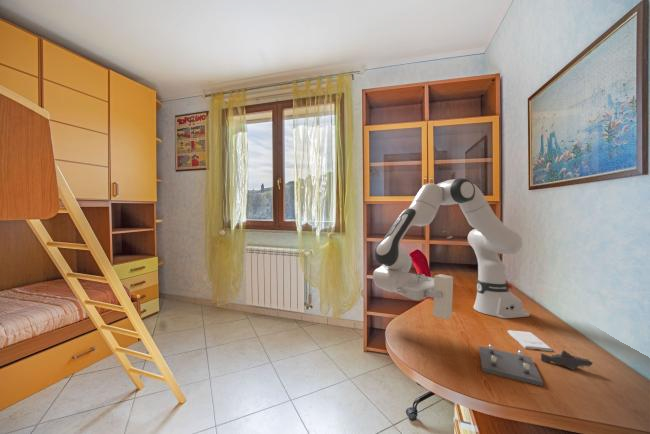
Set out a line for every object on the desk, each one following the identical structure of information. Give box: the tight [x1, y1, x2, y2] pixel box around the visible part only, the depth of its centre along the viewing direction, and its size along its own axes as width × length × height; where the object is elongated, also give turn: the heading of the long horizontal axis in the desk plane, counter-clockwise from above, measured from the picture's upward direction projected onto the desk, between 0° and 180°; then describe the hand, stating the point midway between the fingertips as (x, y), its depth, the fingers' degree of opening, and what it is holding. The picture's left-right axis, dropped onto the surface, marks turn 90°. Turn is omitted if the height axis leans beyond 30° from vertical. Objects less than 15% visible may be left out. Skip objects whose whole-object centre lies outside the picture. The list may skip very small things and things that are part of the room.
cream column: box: [432, 273, 454, 320], centre depth 93 cm, size 4×4×14 cm
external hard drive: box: [507, 329, 553, 352], centre depth 97 cm, size 2×8×12 cm
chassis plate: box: [478, 343, 544, 387], centre depth 81 cm, size 14×14×4 cm
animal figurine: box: [540, 349, 593, 372], centre depth 81 cm, size 12×4×5 cm, turn 57°
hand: (445, 293), depth 92 cm, fingers closed on cream column, 4 cm apart
